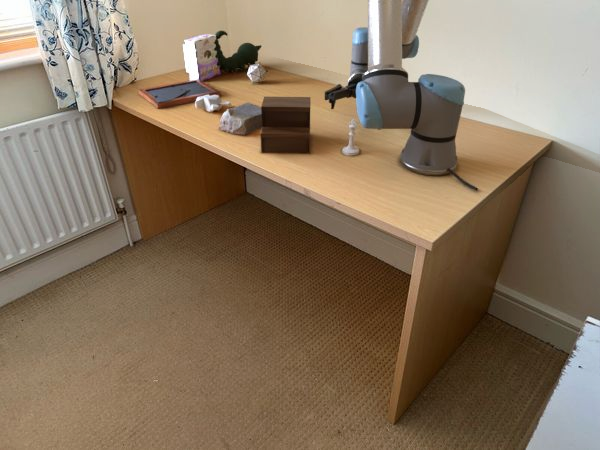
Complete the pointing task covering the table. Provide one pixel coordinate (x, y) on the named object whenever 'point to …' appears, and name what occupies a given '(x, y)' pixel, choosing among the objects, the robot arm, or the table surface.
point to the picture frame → (177, 93)
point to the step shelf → (285, 125)
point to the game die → (256, 73)
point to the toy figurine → (236, 55)
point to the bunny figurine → (210, 103)
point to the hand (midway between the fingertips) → (355, 106)
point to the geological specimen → (242, 119)
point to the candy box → (202, 57)
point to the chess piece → (351, 141)
